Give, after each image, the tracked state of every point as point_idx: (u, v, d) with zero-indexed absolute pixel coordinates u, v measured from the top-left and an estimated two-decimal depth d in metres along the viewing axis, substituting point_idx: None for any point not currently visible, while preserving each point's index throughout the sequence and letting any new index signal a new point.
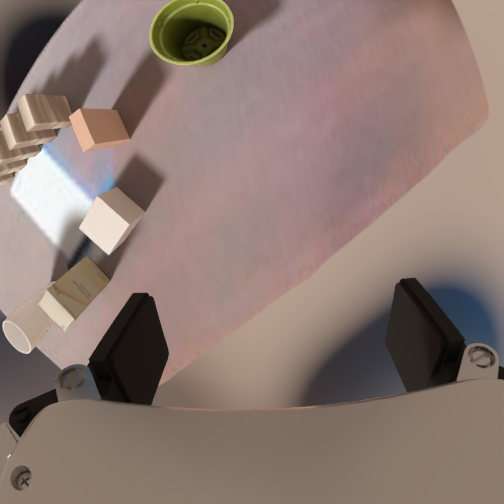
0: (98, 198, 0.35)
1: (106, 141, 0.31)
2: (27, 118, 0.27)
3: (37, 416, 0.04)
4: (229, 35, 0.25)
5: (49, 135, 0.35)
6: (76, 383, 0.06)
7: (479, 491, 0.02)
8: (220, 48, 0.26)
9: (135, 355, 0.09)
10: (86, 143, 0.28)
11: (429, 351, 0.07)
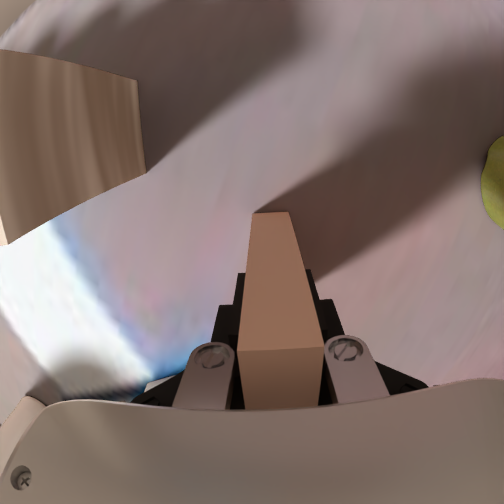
0: None
1: None
2: None
3: (37, 416, 0.04)
4: None
5: None
6: (212, 363, 0.07)
7: (479, 491, 0.02)
8: None
9: None
10: None
11: None
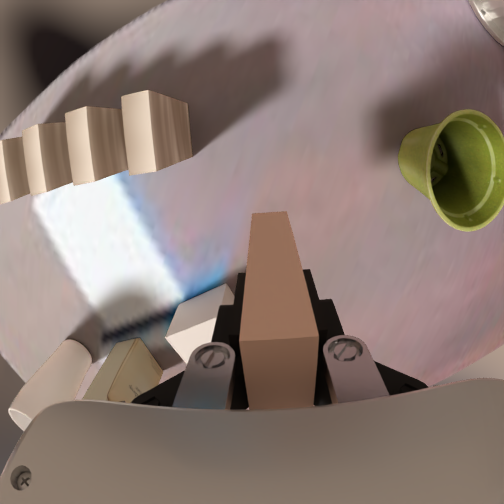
0: None
1: None
2: (140, 148, 0.16)
3: (37, 416, 0.04)
4: (498, 212, 0.18)
5: None
6: (213, 363, 0.07)
7: (479, 491, 0.02)
8: (485, 224, 0.18)
9: None
10: None
11: None
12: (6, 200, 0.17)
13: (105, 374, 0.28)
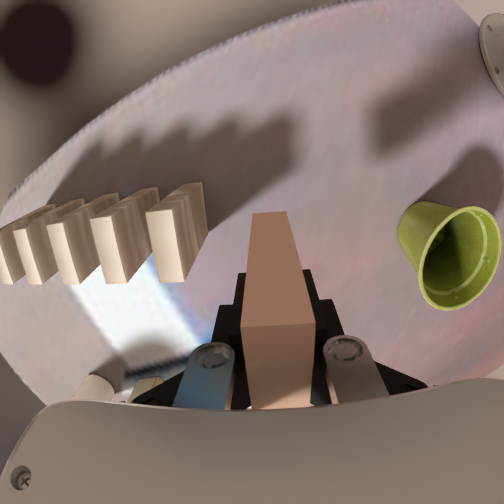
0: None
1: None
2: (168, 261, 0.19)
3: (37, 416, 0.04)
4: (482, 290, 0.21)
5: None
6: (213, 363, 0.07)
7: (479, 491, 0.02)
8: (468, 302, 0.22)
9: None
10: None
11: None
12: (37, 282, 0.21)
13: None
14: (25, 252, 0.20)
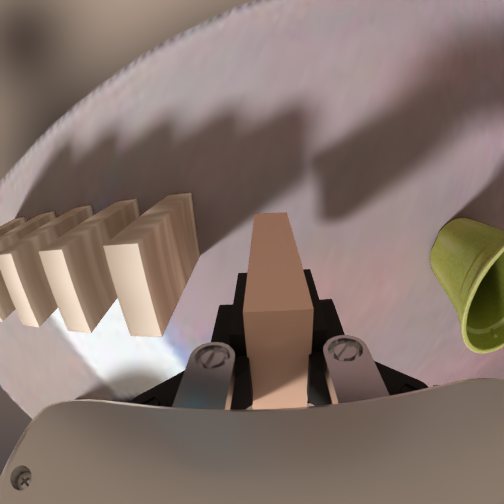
0: None
1: None
2: (138, 311, 0.14)
3: (37, 416, 0.04)
4: None
5: None
6: (213, 363, 0.07)
7: (479, 491, 0.02)
8: None
9: None
10: None
11: None
12: None
13: None
14: None
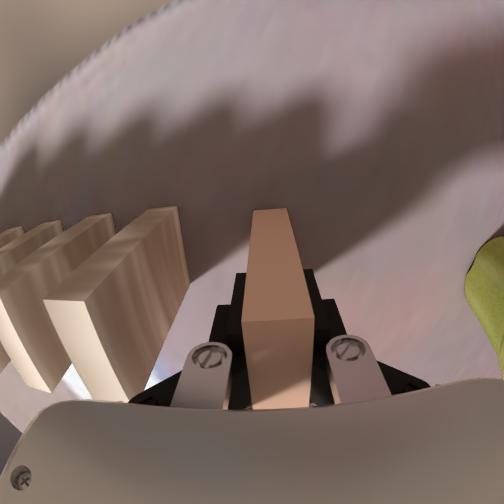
0: None
1: None
2: (100, 382, 0.09)
3: (37, 416, 0.04)
4: None
5: None
6: (210, 363, 0.07)
7: (479, 491, 0.02)
8: None
9: None
10: None
11: None
12: None
13: None
14: None
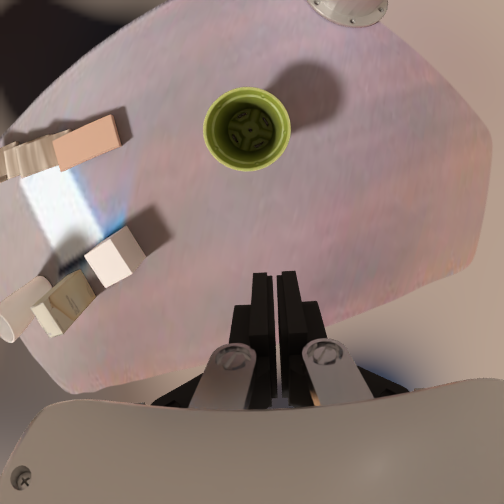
0: (110, 241, 0.39)
1: (76, 163, 0.37)
2: None
3: (37, 416, 0.04)
4: (279, 155, 0.31)
5: None
6: (233, 364, 0.07)
7: (479, 491, 0.02)
8: (266, 165, 0.32)
9: None
10: None
11: None
12: None
13: (53, 289, 0.42)
14: None
